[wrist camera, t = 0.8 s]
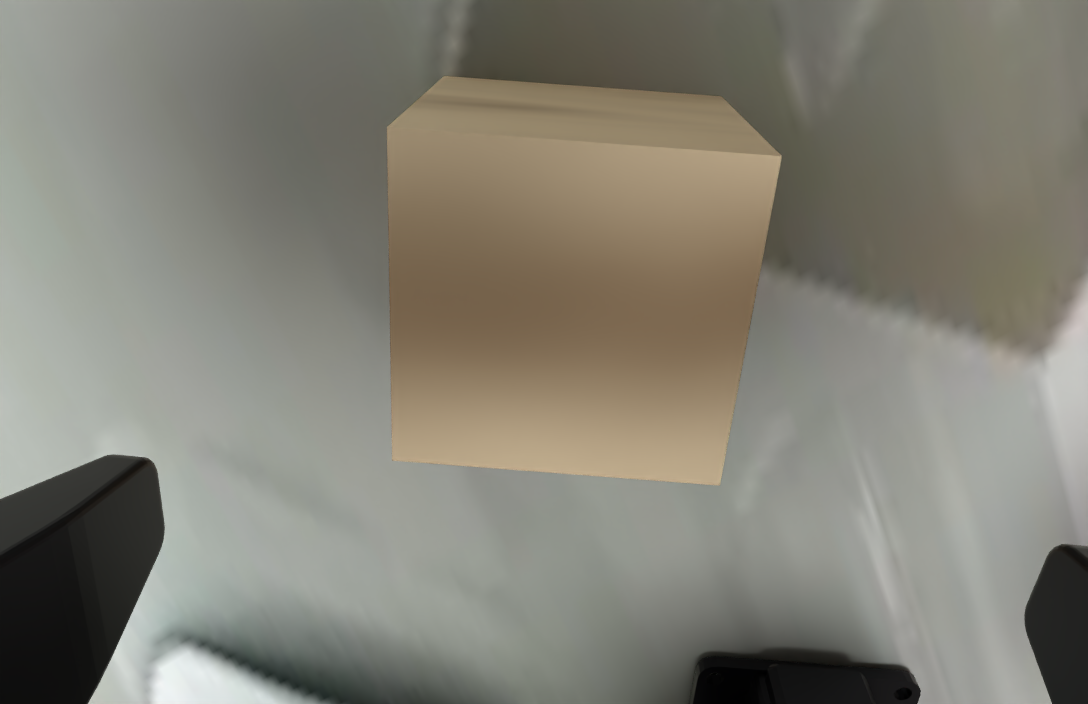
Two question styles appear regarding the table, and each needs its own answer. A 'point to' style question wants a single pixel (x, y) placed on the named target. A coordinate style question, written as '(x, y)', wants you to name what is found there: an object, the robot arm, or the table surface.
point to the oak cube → (572, 277)
